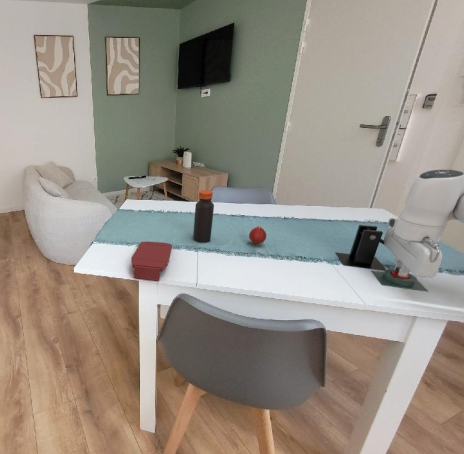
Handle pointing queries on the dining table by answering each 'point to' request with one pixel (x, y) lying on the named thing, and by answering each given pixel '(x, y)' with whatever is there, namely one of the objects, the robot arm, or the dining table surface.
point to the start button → (399, 276)
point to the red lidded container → (150, 259)
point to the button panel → (398, 280)
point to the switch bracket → (364, 249)
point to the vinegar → (203, 217)
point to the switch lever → (370, 229)
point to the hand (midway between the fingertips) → (399, 274)
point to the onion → (257, 235)
